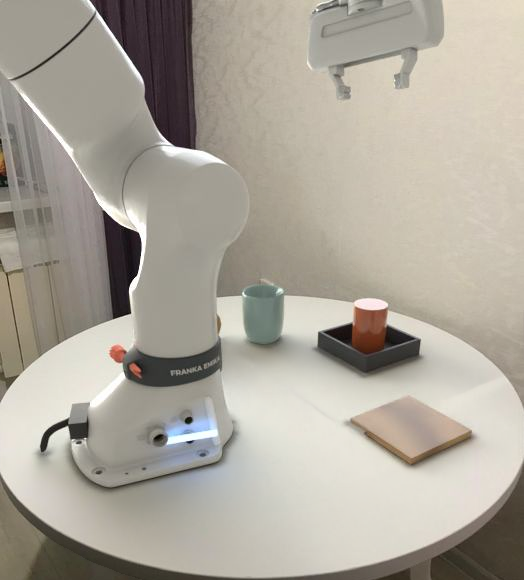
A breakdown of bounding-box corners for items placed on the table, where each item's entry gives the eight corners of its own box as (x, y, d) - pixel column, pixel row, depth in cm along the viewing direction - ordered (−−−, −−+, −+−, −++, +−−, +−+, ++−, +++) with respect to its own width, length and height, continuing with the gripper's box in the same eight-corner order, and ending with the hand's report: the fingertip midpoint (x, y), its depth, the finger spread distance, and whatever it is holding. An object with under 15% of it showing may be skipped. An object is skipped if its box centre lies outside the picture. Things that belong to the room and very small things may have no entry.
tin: (364, 376, 99) (366, 357, 98) (317, 349, 109) (317, 331, 108) (419, 357, 106) (421, 339, 104) (369, 333, 116) (370, 316, 114)
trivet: (410, 464, 77) (411, 458, 76) (349, 423, 86) (350, 418, 86) (471, 436, 83) (472, 430, 82) (408, 400, 92) (409, 395, 91)
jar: (366, 360, 104) (370, 312, 100) (344, 348, 108) (346, 302, 104) (391, 352, 107) (395, 305, 103) (368, 341, 111) (371, 296, 107)
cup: (236, 345, 111) (235, 295, 107) (253, 330, 118) (252, 282, 114) (275, 351, 109) (275, 300, 104) (289, 335, 115) (290, 287, 111)
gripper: (296, 2, 86) (300, 103, 89) (429, -43, 73) (428, 77, 76) (321, 12, 90) (323, 108, 93) (450, -29, 77) (448, 84, 80)
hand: (371, 94), depth 84 cm, fingers open, 8 cm apart
